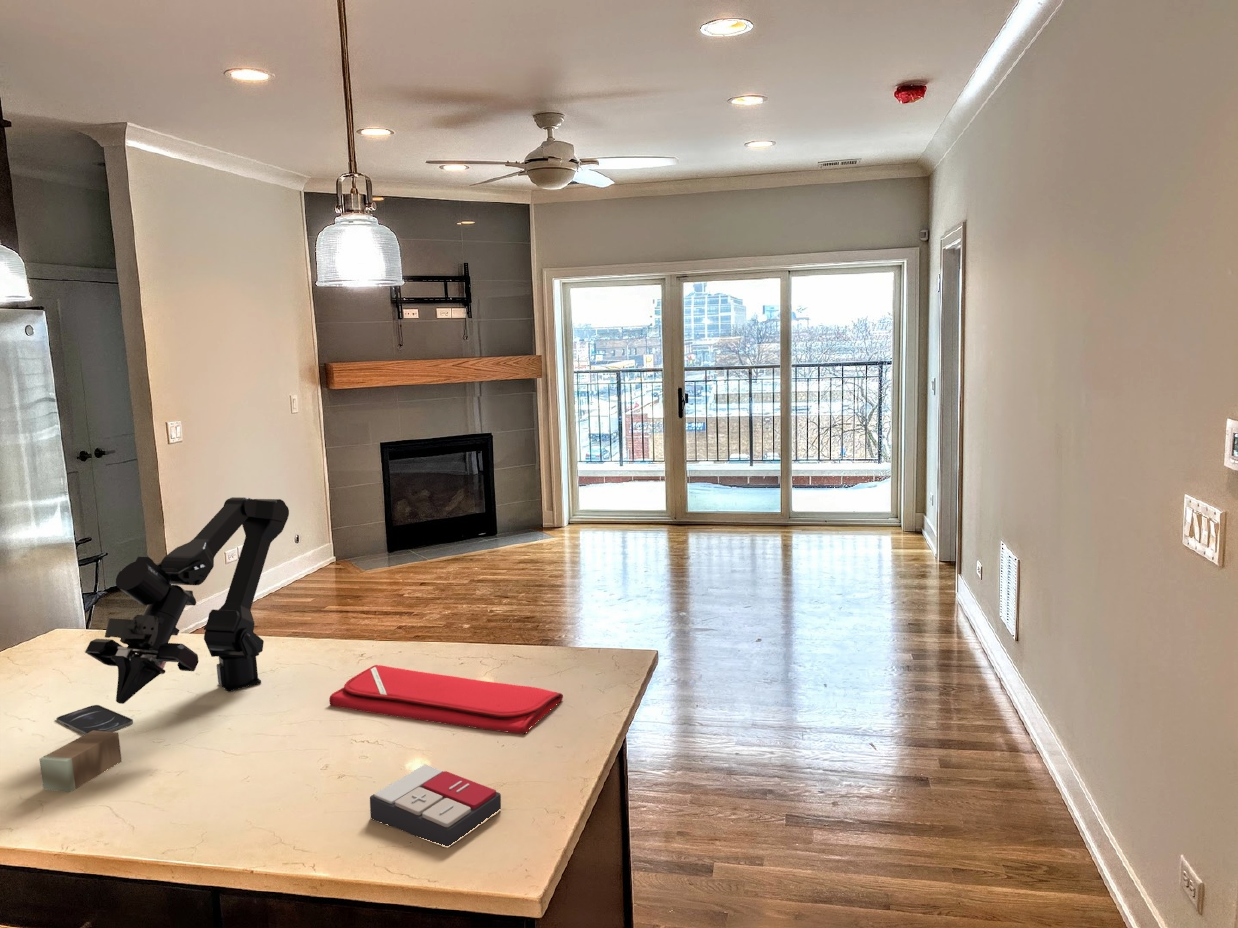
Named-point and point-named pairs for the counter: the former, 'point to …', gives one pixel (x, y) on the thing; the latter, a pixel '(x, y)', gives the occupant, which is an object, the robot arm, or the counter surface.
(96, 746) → the walnut block
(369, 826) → the counter surface
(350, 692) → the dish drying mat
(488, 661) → the counter surface
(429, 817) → the calculator
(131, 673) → the robot arm
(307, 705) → the counter surface
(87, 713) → the smartphone
